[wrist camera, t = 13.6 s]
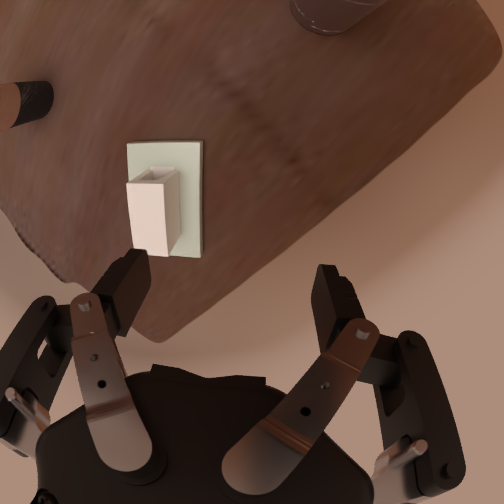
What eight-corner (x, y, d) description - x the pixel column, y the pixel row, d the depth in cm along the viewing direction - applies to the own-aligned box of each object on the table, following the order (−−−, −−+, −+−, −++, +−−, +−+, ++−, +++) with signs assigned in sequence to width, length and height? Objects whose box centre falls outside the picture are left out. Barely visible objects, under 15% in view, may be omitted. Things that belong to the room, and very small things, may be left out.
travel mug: (30, 81, 28) (-53, 97, 11) (57, 77, 29) (-34, 89, 12) (26, 120, 32) (-55, 149, 15) (52, 119, 33) (-37, 148, 15)
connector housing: (146, 170, 36) (126, 183, 30) (178, 170, 36) (163, 183, 30) (150, 232, 41) (134, 253, 35) (180, 234, 41) (168, 256, 35)
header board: (132, 141, 36) (117, 147, 31) (203, 140, 36) (194, 145, 31) (141, 246, 45) (130, 261, 40) (202, 251, 45) (196, 268, 41)
